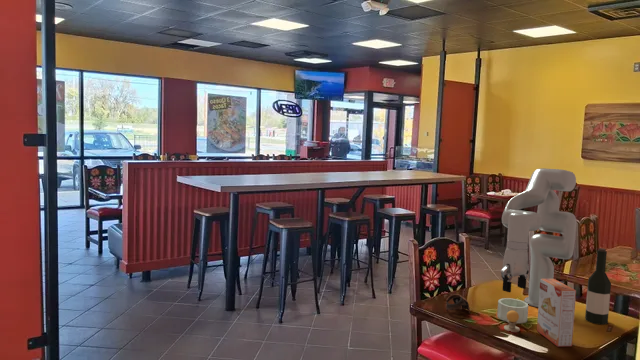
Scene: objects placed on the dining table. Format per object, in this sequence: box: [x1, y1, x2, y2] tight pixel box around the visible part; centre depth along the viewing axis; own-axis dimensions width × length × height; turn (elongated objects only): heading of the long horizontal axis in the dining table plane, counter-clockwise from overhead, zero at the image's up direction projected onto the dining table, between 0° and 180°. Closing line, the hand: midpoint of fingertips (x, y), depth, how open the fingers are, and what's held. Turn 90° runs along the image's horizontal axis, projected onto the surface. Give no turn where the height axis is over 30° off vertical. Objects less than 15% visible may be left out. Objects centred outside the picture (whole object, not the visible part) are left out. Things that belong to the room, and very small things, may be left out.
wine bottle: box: [584, 247, 612, 326], centre depth 196 cm, size 8×8×30 cm
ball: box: [507, 310, 519, 322], centre depth 185 cm, size 4×4×4 cm
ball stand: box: [503, 321, 521, 333], centre depth 185 cm, size 6×6×3 cm
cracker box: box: [536, 278, 577, 348], centre depth 176 cm, size 14×6×21 cm, turn 5°
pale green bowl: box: [496, 297, 529, 324], centre depth 197 cm, size 11×11×6 cm
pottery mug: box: [445, 293, 471, 314], centre depth 204 cm, size 12×10×8 cm
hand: (514, 289), depth 184 cm, fingers open, 9 cm apart
